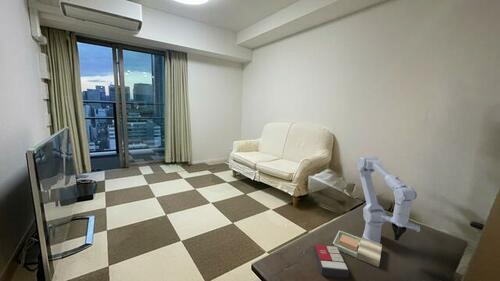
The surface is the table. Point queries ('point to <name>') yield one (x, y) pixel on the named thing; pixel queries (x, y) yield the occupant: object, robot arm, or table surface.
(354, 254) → the box
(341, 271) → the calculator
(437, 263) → the table surface
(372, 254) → the bench plate
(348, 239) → the tile
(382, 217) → the robot arm
